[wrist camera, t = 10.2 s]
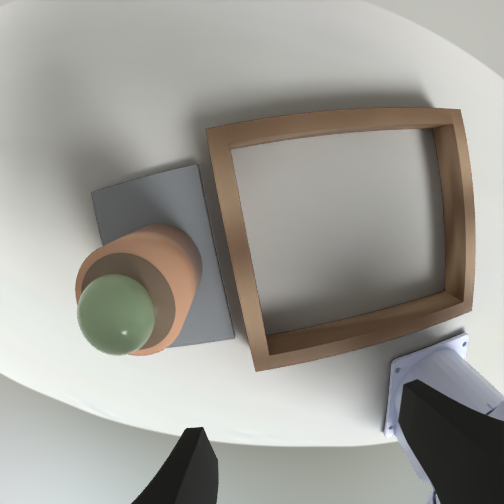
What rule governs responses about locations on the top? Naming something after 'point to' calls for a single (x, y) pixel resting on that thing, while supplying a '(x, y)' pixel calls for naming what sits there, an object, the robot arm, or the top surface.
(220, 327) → the mat
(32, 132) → the top surface
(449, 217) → the frame
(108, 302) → the terracotta pot
